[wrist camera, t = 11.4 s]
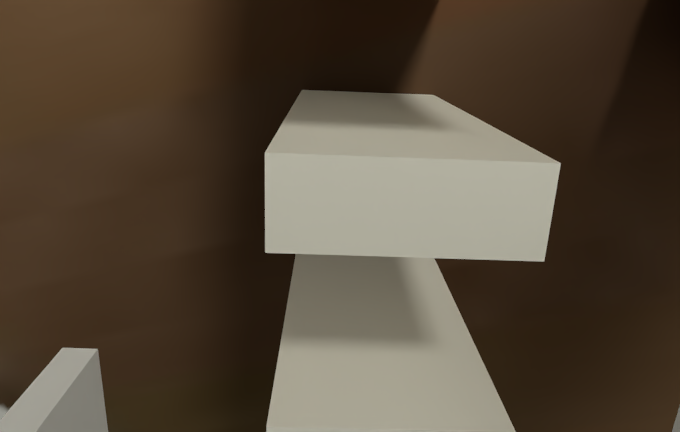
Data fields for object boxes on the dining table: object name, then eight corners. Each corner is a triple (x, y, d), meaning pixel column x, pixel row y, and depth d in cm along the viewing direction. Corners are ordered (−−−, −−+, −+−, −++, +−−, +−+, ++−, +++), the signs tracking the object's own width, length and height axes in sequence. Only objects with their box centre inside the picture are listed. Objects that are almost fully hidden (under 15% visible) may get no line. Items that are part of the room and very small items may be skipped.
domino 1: (301, 89, 20) (264, 152, 9) (433, 95, 21) (560, 163, 9) (301, 138, 21) (265, 255, 10) (428, 143, 21) (543, 264, 10)
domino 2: (299, 227, 22) (266, 427, 11) (421, 231, 22) (516, 432, 11) (299, 269, 23) (266, 500, 11) (417, 272, 23) (503, 504, 11)
